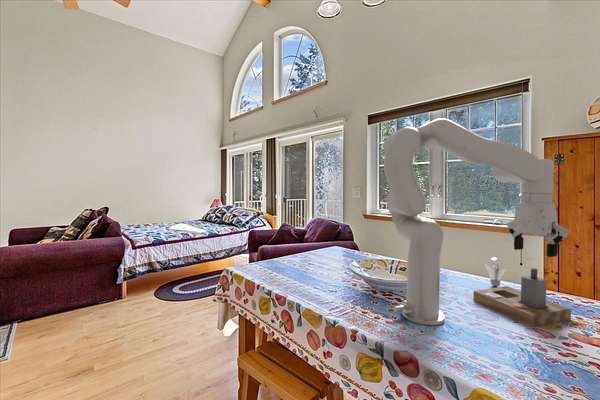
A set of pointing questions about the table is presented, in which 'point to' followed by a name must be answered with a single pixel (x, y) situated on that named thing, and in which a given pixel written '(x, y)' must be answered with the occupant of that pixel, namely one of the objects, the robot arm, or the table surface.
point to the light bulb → (495, 270)
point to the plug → (533, 291)
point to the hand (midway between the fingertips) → (534, 252)
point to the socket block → (521, 306)
